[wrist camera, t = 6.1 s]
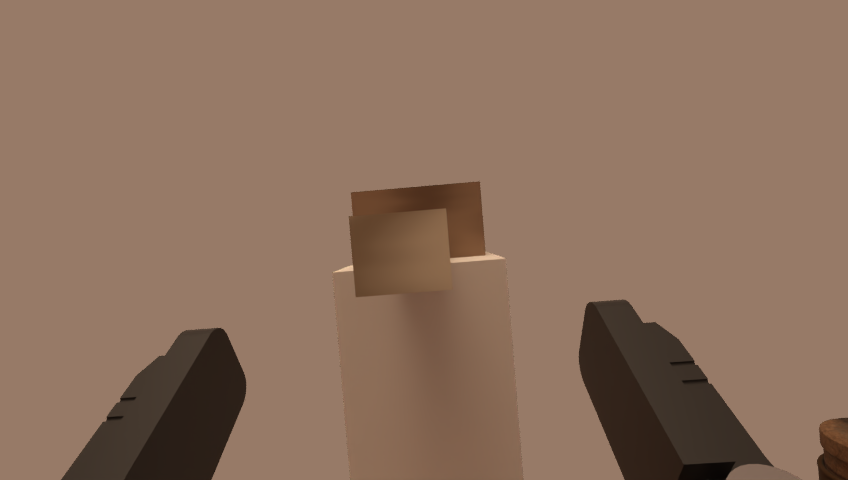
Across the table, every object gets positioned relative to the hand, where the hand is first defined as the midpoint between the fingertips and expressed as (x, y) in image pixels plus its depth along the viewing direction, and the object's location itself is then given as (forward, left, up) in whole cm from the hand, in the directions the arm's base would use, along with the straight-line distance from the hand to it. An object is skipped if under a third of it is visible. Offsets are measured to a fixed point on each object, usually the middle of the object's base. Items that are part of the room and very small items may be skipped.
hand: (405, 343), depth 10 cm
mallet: (0, +10, +1) cm, 10 cm away
